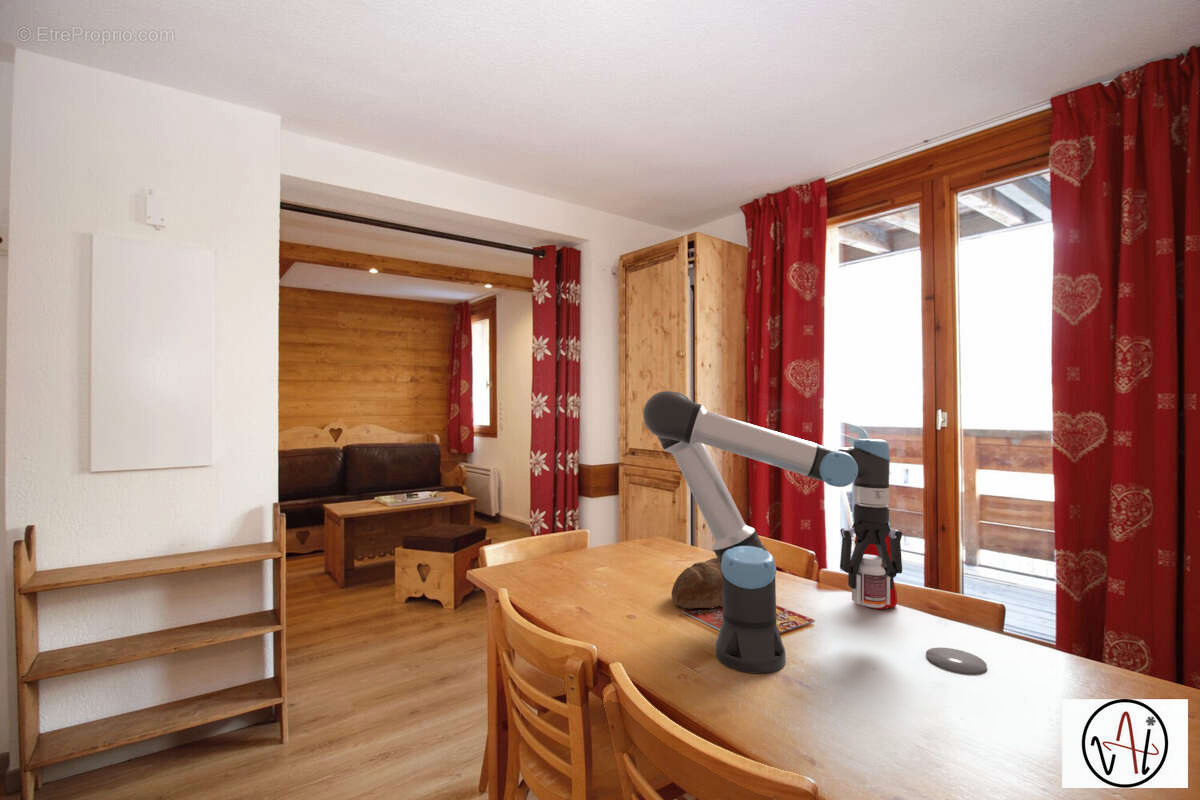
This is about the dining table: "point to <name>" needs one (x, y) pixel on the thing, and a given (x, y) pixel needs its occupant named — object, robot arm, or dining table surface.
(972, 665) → the coaster
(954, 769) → the dining table surface
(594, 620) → the dining table surface
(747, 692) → the dining table surface
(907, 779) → the dining table surface
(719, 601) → the bread
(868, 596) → the pill bottle
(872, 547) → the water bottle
